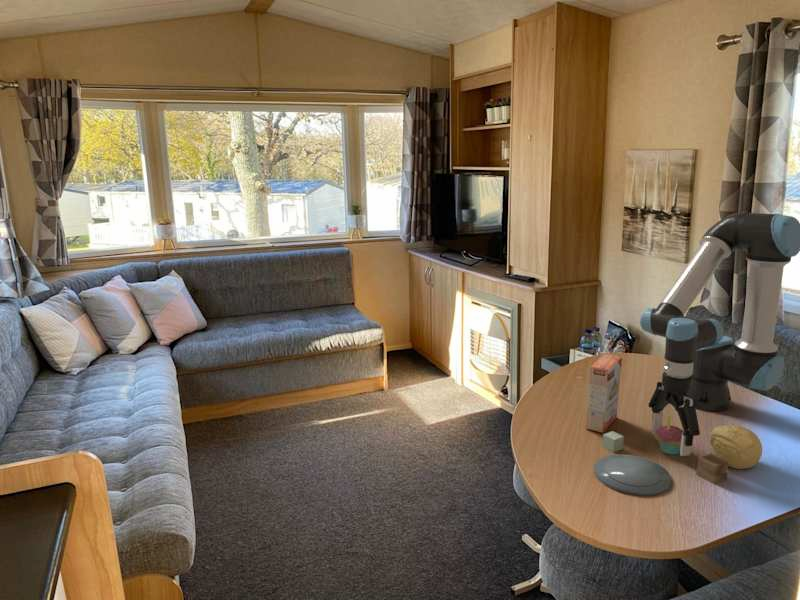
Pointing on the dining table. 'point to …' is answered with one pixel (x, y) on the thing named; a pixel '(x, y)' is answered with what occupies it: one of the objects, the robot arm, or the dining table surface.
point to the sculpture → (736, 446)
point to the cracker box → (603, 393)
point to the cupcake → (669, 438)
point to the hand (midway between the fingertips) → (670, 443)
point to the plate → (632, 475)
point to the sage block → (613, 441)
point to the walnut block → (712, 468)
